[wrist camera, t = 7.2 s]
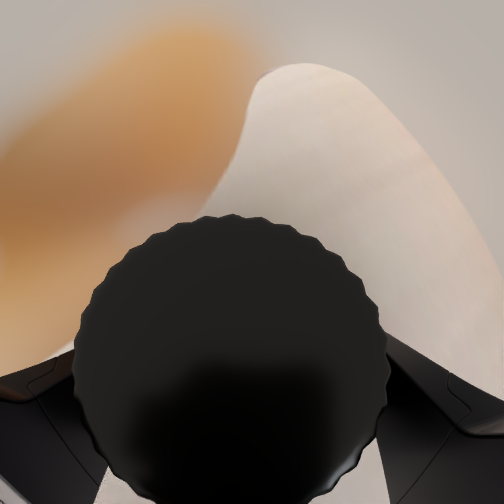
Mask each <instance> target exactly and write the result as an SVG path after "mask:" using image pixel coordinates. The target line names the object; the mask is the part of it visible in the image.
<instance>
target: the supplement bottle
mask: <svg viewBox="0 0 504 504" xmlns="http://www.w3.org/2000/svg"><path fill="white" fill-rule="evenodd" d="M378 318H379V313H378V307H377V306H376V304H375V303H374V302H373V301H372V300H371V299H370V298H369V297H368V296H367V295H366V292H365V288H364V285H363V282H362V279H360V278H359V277H358V276H356V275H355V274H353V273H352V272H350V271H349V270H348V269H347V267H346V265H345V262H344V261H343V259H342V258H341V256H339V255H337V254H335V253H333V252H330V251H328V250H326V249H325V248H324V246H323V245H322V244H321V243H320V241H319V240H318V239H317V238H314V237H311V236H306V235H301V234H300V233H299V232H297V231H296V229H294V228H293V227H292V226H290V225H284V224H273V223H271V222H270V221H268V220H267V219H265V218H263V217H254V218H243V217H241V216H239V215H235V214H230V215H226V216H223V217H220V218H217V217H210V216H204V217H201V218H199V219H197V220H196V221H194V222H188V223H187V222H186V223H177V224H176V225H174V226H173V227H171V228H170V229H169V230H167V231H166V232H160V233H156V234H153V235H151V236H150V237H149V238H148V239H147V240H146V242H145V243H143V244H142V245H139V246H137V247H134V248H132V249H130V250H129V251H128V253H127V254H126V255H125V256H124V258H123V260H122V261H120V262H119V263H117V264H115V265H114V266H112V267H111V268H110V270H109V271H108V273H107V276H106V277H105V279H104V281H103V282H102V283H101V284H99V285H98V286H97V287H96V288H95V289H94V291H93V294H92V297H91V301H90V304H89V305H88V306H87V307H86V309H85V310H84V312H83V313H82V315H81V325H80V329H79V331H78V333H77V335H76V337H75V339H74V349H75V356H74V359H73V363H72V367H71V370H72V374H73V377H74V381H75V384H74V399H75V401H76V403H77V405H78V407H79V409H80V418H81V424H82V426H83V427H84V429H85V430H86V431H87V432H88V434H89V435H90V437H91V441H92V444H93V447H94V450H95V451H96V452H97V453H98V454H99V455H100V456H101V457H102V458H103V459H104V460H106V462H107V464H108V466H109V468H110V469H111V471H112V473H113V474H114V475H115V476H116V477H118V478H119V479H121V480H123V481H125V482H126V483H128V485H129V486H130V487H131V488H132V490H133V491H134V492H135V493H136V494H137V495H138V496H140V497H142V498H145V499H148V500H151V501H154V502H155V503H156V504H308V503H309V502H310V501H311V500H312V499H313V498H315V497H317V496H320V495H324V494H326V493H328V492H331V491H332V490H333V488H334V487H335V486H336V484H337V483H338V481H339V479H340V478H341V476H343V475H344V474H346V473H348V472H350V471H351V470H353V469H354V468H355V467H357V465H358V462H359V460H360V457H361V454H362V451H363V449H364V448H365V447H366V446H367V445H369V444H370V443H371V442H372V441H373V440H374V439H375V437H376V432H377V423H378V419H379V417H380V416H381V415H382V413H383V412H384V410H385V408H386V406H387V394H386V389H385V387H386V384H387V382H388V380H389V377H390V374H391V368H390V365H389V362H388V359H387V357H386V349H387V343H388V337H387V335H386V334H385V332H384V330H383V329H382V327H381V326H380V324H379V319H378Z"/></svg>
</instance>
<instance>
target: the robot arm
mask: <svg viewBox="0 0 504 504" xmlns="http://www.w3.org/2000/svg"><path fill="white" fill-rule="evenodd" d="M384 332H385V331H384ZM385 334H386V335H387V337H388V343H387V349H386V357H387V359H388V362H389V365H390V368H391V374H390V377H389V380H388V382H387V384H386V387H385V389H386V394H387V406H386V408H385V410H384V412H383V413H382V415H381V416H380V417H379V419H378V423H377V432H376V439H377V443H378V447H379V451H380V456H381V460H382V465H383V469H384V474H385V479H386V483H387V488H388V494H389V499H390V504H504V401H503V400H501V399H499V398H497V397H495V396H493V395H491V394H489V393H487V392H484V391H483V390H481V389H479V388H477V387H475V386H473V385H471V384H469V383H468V382H466V381H464V380H463V379H461V378H459V377H458V376H456V375H454V374H453V373H451V372H450V373H449V371H448V370H446V369H445V368H443V367H441V366H440V365H438V364H436V363H435V362H433V361H432V360H430V359H428V358H427V357H425V356H424V355H422V354H420V353H419V352H417V351H415V350H414V349H412V348H411V347H409V346H407V345H406V344H404V343H403V342H401V341H399V340H398V339H396V338H394V337H393V336H391V335H390V334H388V333H386V332H385ZM74 356H75V349H73V350H71V351H68V352H66V353H64V354H61V355H59V356H58V357H54V358H52V359H50V360H47V361H45V362H42V363H40V364H37V365H34V366H32V367H29V368H26V369H23V370H20V371H17V372H14V373H11V374H8V375H5V376H2V377H0V504H93V503H94V501H95V498H96V495H97V493H98V490H99V487H100V485H101V482H102V480H103V477H104V475H105V472H106V470H107V467H108V464H107V462H106V460H104V459H103V458H102V457H101V456H100V455H99V454H98V453H97V452H96V451H95V450H94V447H93V444H92V441H91V437H90V435H89V434H88V432H87V431H86V430H85V429H84V427H83V426H82V424H81V418H80V409H79V407H78V405H77V403H76V401H75V399H74V384H75V381H74V377H73V374H72V370H71V367H72V363H73V359H74Z"/></svg>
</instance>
